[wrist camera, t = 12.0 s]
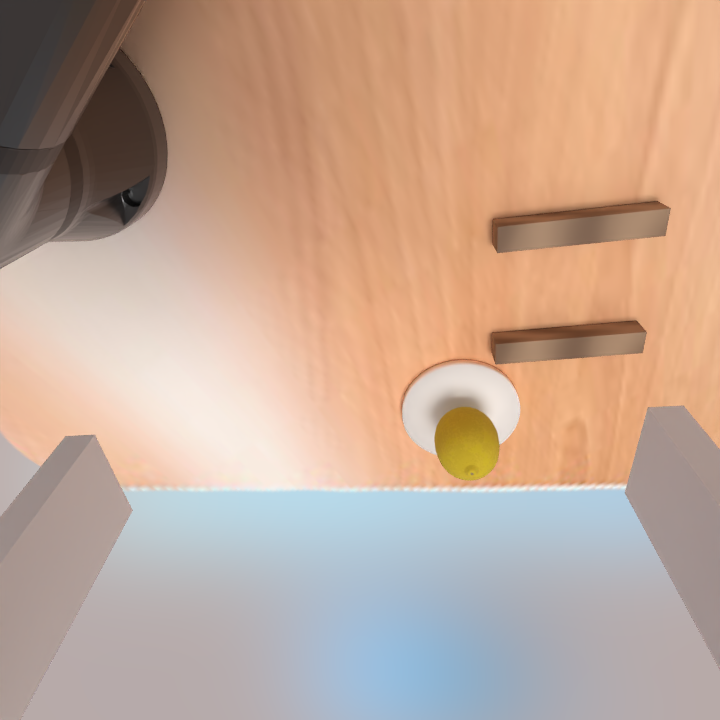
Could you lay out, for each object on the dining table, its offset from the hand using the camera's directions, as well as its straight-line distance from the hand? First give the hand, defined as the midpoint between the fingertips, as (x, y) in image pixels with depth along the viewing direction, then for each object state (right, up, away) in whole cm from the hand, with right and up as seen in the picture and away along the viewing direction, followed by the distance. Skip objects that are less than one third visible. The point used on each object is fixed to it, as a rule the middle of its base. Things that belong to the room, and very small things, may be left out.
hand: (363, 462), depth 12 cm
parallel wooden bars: (+17, +9, +28) cm, 34 cm away
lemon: (+9, -3, +35) cm, 36 cm away
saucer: (+9, -2, +36) cm, 37 cm away
